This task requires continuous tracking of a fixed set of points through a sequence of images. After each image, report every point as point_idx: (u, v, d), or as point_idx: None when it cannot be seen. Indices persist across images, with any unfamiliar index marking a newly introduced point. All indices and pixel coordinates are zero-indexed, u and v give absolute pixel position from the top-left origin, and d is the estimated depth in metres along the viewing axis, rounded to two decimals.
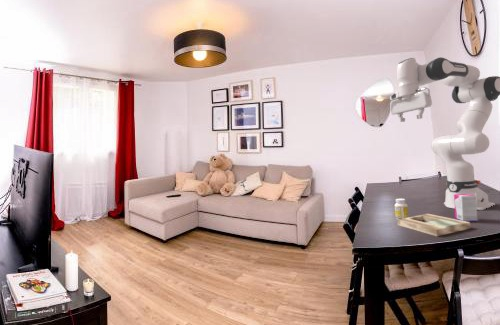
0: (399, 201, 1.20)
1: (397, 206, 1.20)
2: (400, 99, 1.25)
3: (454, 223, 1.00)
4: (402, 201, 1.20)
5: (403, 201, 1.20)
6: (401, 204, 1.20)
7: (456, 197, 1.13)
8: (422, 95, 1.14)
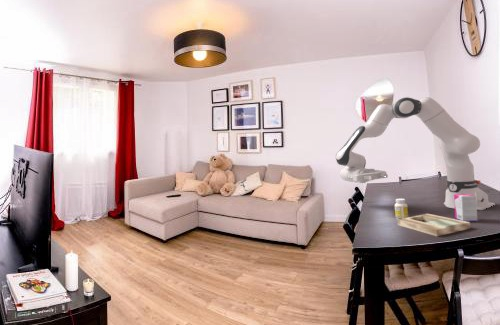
0: (399, 201, 1.20)
1: (397, 206, 1.20)
2: None
3: (454, 223, 1.00)
4: (402, 201, 1.20)
5: (403, 201, 1.20)
6: (401, 204, 1.20)
7: (456, 197, 1.13)
8: (353, 180, 1.40)
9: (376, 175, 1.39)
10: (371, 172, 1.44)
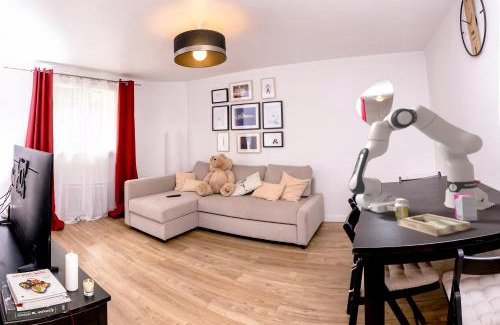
0: (399, 201, 1.20)
1: (397, 206, 1.20)
2: None
3: (454, 223, 1.00)
4: (402, 201, 1.20)
5: (403, 201, 1.20)
6: (401, 204, 1.20)
7: (456, 197, 1.13)
8: None
9: None
10: (392, 200, 1.31)
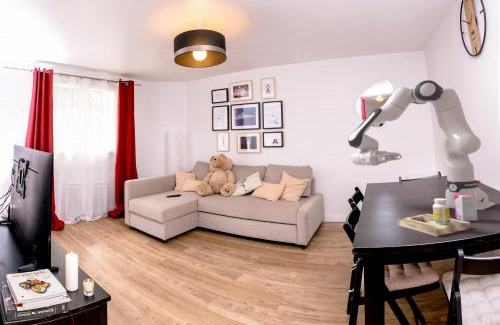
0: (439, 201, 1.01)
1: (437, 207, 1.02)
2: (381, 161, 1.41)
3: (454, 223, 1.00)
4: (443, 201, 1.01)
5: (444, 201, 1.01)
6: (442, 205, 1.01)
7: (456, 197, 1.13)
8: (365, 162, 1.36)
9: (389, 156, 1.35)
10: (384, 154, 1.40)
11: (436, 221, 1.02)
